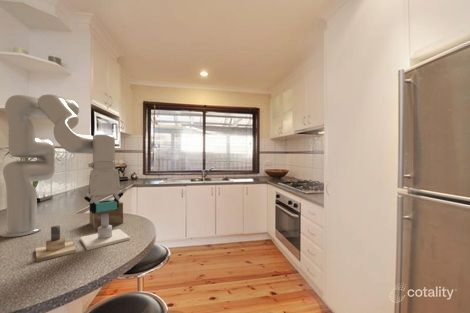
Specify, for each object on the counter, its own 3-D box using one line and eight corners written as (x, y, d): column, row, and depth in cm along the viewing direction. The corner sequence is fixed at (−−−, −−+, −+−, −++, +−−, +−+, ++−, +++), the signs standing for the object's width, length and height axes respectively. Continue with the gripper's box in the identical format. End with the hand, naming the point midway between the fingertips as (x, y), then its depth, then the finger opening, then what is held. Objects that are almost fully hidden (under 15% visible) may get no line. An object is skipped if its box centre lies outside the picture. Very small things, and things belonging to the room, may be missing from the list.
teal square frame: (92, 209, 85) (92, 201, 85) (112, 206, 90) (112, 199, 90) (96, 212, 80) (96, 204, 80) (117, 209, 85) (117, 201, 85)
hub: (80, 239, 86) (80, 214, 86) (119, 231, 95) (119, 208, 95) (87, 250, 75) (86, 221, 75) (129, 239, 85) (129, 213, 85)
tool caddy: (89, 223, 108) (89, 203, 108) (116, 218, 116) (116, 199, 116) (94, 228, 99) (94, 206, 99) (123, 222, 107) (122, 202, 107)
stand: (35, 250, 76) (35, 226, 76) (71, 242, 83) (71, 220, 83) (36, 262, 67) (36, 234, 67) (76, 252, 74) (75, 227, 74)
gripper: (78, 167, 77) (79, 217, 77) (130, 165, 89) (131, 209, 89) (75, 166, 82) (76, 213, 82) (124, 165, 94) (125, 206, 94)
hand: (104, 211), depth 85 cm, fingers closed on teal square frame, 7 cm apart
